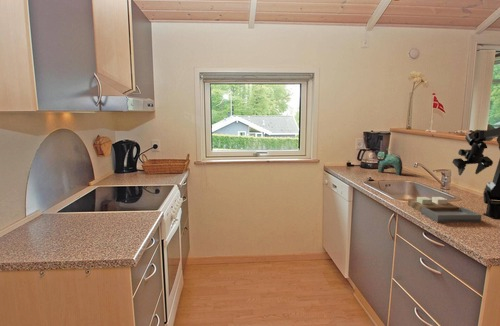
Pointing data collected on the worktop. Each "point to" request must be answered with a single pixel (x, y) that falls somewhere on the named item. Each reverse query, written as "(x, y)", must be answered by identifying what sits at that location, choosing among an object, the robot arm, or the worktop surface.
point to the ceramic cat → (389, 162)
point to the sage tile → (424, 200)
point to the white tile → (439, 200)
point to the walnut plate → (431, 206)
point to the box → (452, 215)
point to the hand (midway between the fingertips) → (467, 174)
